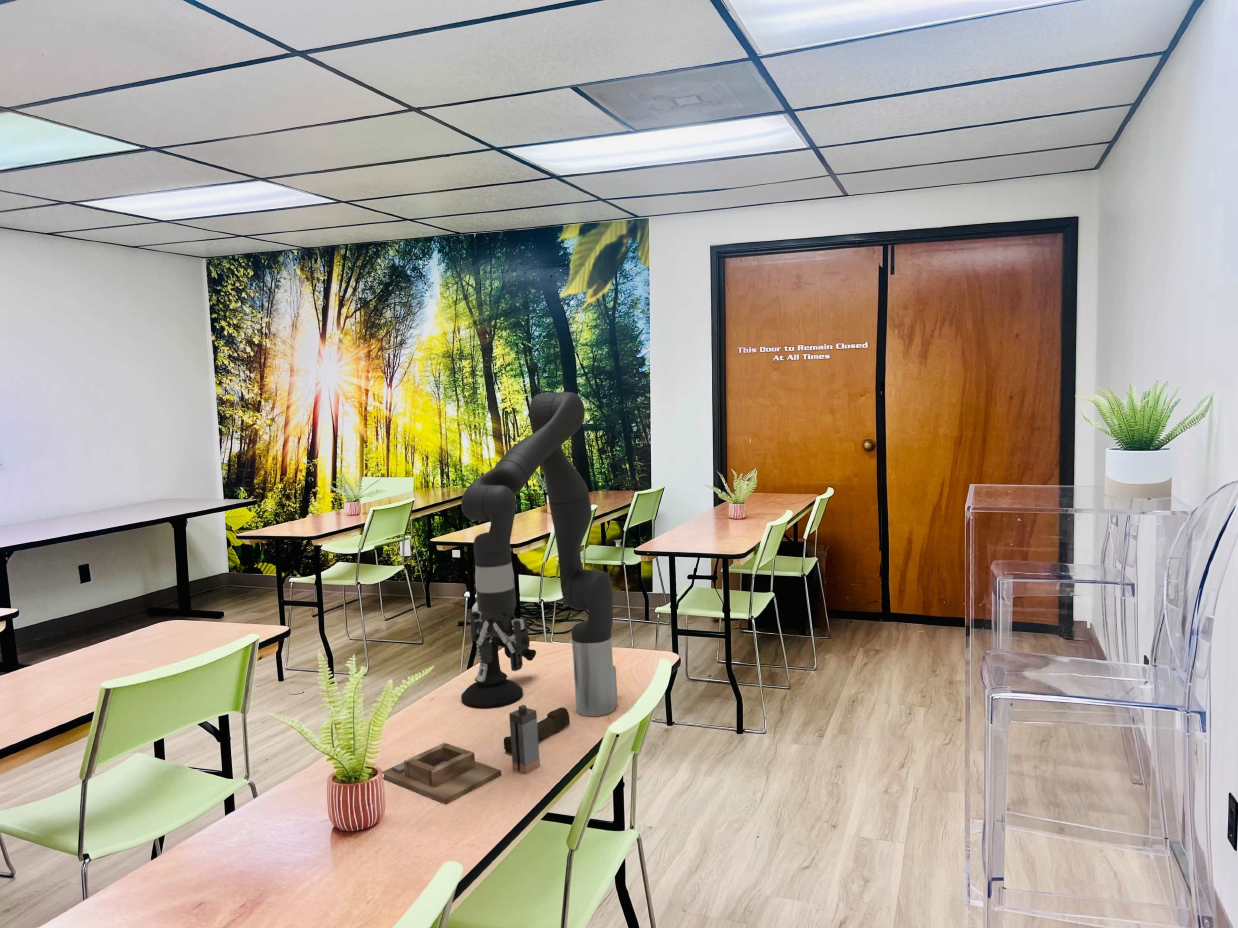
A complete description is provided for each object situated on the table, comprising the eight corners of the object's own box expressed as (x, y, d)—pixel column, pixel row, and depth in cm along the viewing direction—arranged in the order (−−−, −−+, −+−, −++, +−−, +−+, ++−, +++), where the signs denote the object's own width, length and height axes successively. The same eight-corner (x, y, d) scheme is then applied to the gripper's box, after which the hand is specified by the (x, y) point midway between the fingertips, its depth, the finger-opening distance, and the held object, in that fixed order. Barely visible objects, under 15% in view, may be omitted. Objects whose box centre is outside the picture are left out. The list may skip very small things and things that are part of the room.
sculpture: (448, 702, 210) (441, 603, 207) (511, 672, 229) (505, 581, 227) (495, 712, 201) (488, 609, 199) (556, 681, 221) (550, 586, 219)
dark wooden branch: (516, 757, 176) (514, 736, 176) (503, 753, 179) (501, 731, 179) (578, 727, 191) (577, 707, 190) (565, 723, 193) (564, 703, 193)
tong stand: (436, 751, 181) (434, 733, 181) (501, 774, 168) (499, 755, 168) (380, 777, 170) (379, 758, 170) (445, 803, 158) (444, 783, 157)
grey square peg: (527, 761, 174) (523, 700, 173) (540, 765, 171) (536, 704, 170) (512, 769, 171) (508, 707, 169) (525, 773, 168) (521, 711, 167)
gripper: (534, 585, 165) (540, 666, 167) (485, 577, 174) (491, 654, 176) (506, 594, 159) (512, 678, 161) (456, 586, 168) (463, 665, 170)
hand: (501, 666), depth 168 cm, fingers open, 8 cm apart
